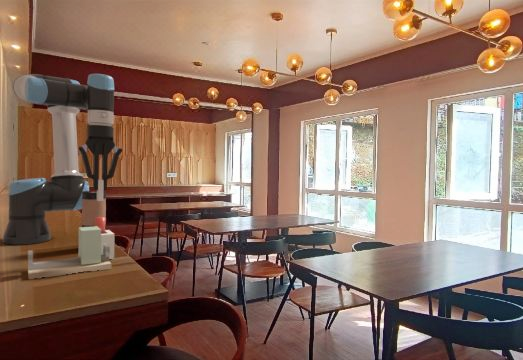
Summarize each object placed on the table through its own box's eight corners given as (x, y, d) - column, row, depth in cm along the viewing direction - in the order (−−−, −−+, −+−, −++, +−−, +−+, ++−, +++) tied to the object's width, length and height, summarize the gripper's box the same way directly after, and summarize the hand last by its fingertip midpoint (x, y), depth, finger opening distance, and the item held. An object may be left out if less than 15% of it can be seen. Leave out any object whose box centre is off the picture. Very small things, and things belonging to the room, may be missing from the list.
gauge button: (94, 232, 118) (94, 217, 117) (104, 232, 119) (104, 216, 119) (95, 234, 115) (95, 218, 115) (106, 233, 117) (106, 218, 117)
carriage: (78, 259, 108) (78, 227, 107) (96, 257, 111) (97, 226, 110) (81, 264, 103) (81, 230, 102) (100, 262, 105) (101, 229, 105)
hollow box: (85, 256, 119) (85, 231, 119) (108, 253, 123) (109, 229, 122) (89, 262, 112) (90, 235, 112) (114, 259, 116) (114, 233, 116)
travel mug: (96, 251, 125) (96, 192, 124) (76, 250, 126) (76, 191, 126) (110, 246, 132) (110, 191, 132) (91, 245, 134) (91, 190, 133)
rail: (27, 270, 102) (27, 249, 102) (105, 261, 113) (105, 242, 113) (28, 279, 95) (28, 256, 94) (111, 268, 106) (111, 248, 105)
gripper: (79, 122, 109) (78, 202, 110) (125, 126, 116) (124, 201, 117) (75, 124, 115) (75, 200, 116) (119, 127, 122) (118, 198, 123)
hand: (100, 200), depth 117 cm, fingers closed
